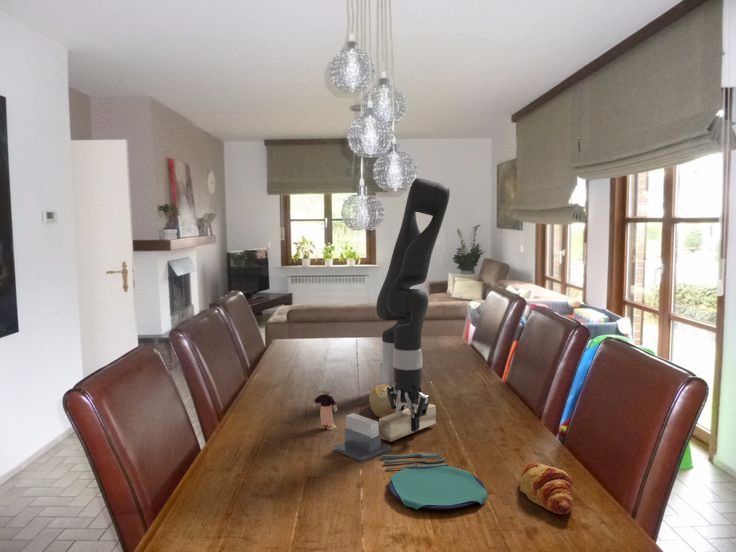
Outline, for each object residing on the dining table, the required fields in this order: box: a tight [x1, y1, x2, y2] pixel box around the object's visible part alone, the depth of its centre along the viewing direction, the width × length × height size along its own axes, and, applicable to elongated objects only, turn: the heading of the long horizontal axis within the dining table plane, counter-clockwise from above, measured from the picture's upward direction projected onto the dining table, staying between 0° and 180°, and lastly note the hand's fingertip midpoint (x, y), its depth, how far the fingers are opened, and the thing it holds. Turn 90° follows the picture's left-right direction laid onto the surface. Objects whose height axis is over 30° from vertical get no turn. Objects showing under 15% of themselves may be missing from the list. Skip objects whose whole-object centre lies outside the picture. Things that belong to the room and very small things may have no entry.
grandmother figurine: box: [312, 381, 338, 431], centre depth 164 cm, size 8×4×13 cm, turn 71°
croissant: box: [519, 462, 574, 515], centre depth 122 cm, size 21×10×8 cm, turn 5°
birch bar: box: [378, 403, 437, 442], centre depth 158 cm, size 4×18×5 cm, turn 135°
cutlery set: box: [380, 451, 488, 510], centre depth 129 cm, size 20×30×2 cm, turn 10°
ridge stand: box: [333, 412, 392, 462], centre depth 147 cm, size 10×10×8 cm
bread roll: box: [368, 384, 396, 418], centre depth 176 cm, size 10×15×8 cm, turn 1°
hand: (408, 428), depth 158 cm, fingers closed on birch bar, 4 cm apart
